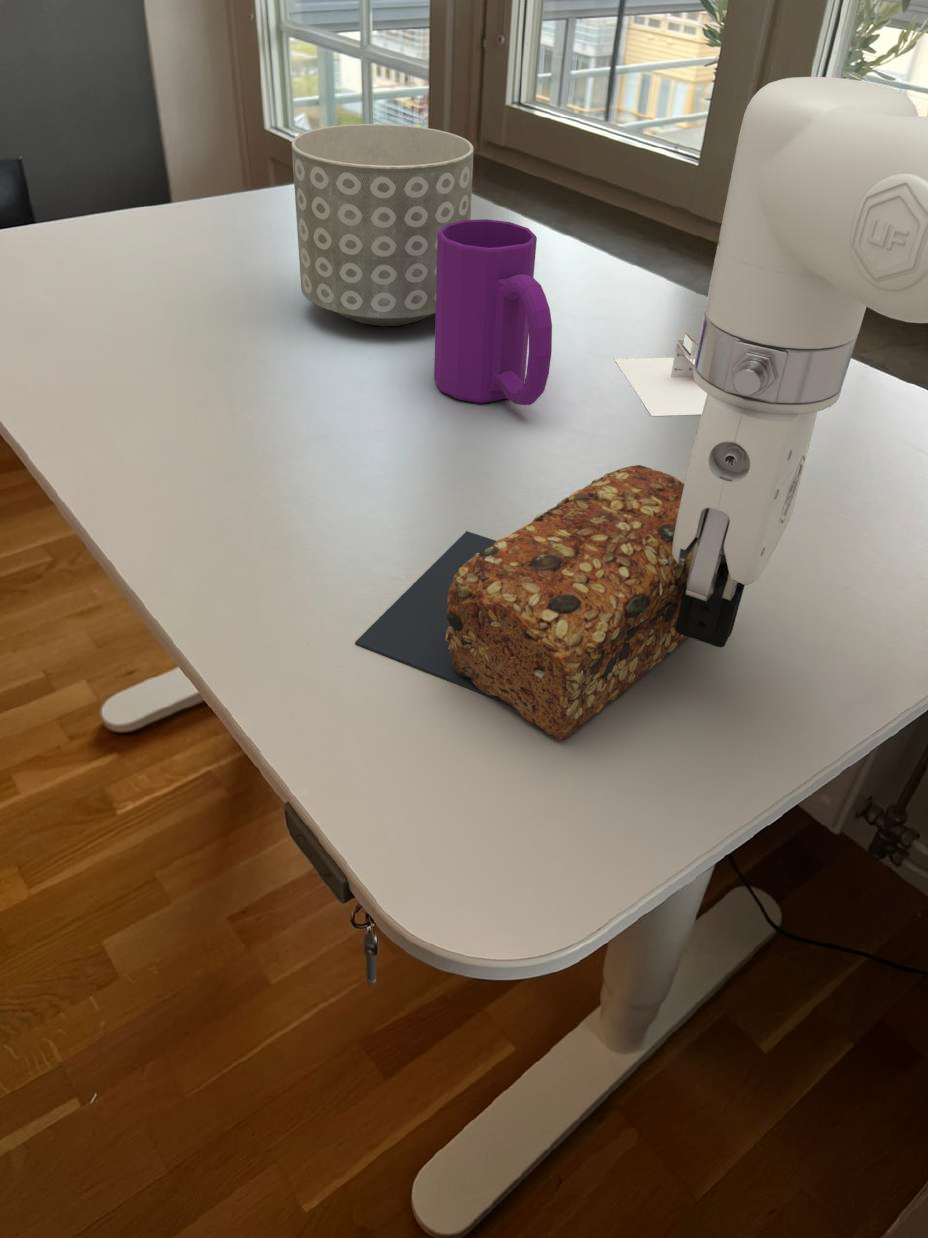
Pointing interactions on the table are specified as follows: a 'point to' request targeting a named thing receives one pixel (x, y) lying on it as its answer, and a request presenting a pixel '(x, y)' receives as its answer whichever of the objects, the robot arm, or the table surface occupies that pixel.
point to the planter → (377, 216)
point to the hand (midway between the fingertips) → (702, 633)
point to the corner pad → (426, 617)
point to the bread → (573, 601)
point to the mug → (490, 314)
